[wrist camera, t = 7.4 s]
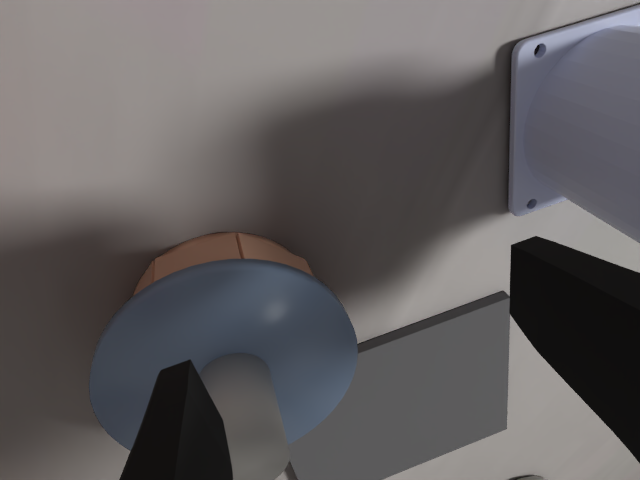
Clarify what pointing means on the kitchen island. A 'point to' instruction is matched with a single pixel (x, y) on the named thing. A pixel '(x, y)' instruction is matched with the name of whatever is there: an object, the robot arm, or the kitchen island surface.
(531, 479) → the supplement can
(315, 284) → the lid
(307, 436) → the mat
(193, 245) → the bowl
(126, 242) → the kitchen island surface
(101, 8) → the kitchen island surface
